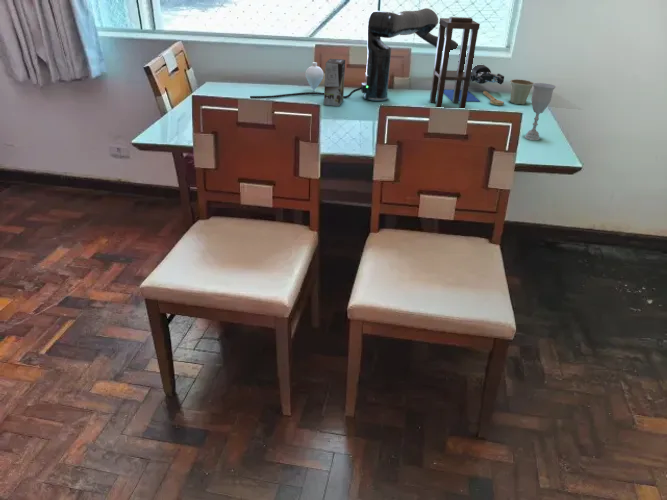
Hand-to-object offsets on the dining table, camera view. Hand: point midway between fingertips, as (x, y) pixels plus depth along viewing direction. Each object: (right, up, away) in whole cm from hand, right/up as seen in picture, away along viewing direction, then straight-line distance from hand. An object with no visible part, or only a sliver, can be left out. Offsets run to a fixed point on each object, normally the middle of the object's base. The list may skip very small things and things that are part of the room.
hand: (491, 81), depth 236 cm
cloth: (-12, -5, +5) cm, 14 cm away
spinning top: (-75, -5, -1) cm, 75 cm away
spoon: (0, -9, +2) cm, 9 cm away
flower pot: (+11, -9, -1) cm, 14 cm away
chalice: (+2, -32, -42) cm, 53 cm away
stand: (-21, -13, -10) cm, 27 cm away
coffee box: (-67, -13, -15) cm, 70 cm away
